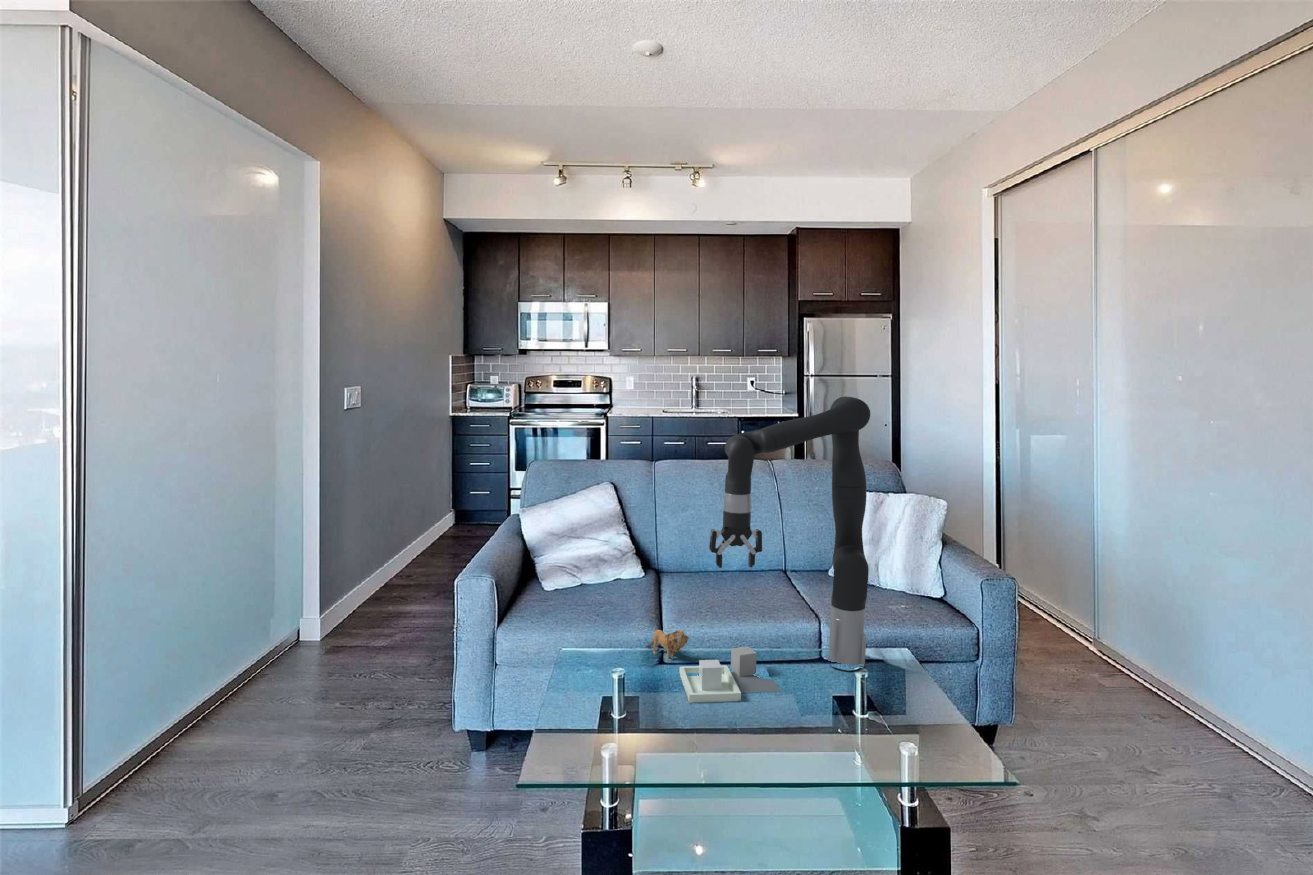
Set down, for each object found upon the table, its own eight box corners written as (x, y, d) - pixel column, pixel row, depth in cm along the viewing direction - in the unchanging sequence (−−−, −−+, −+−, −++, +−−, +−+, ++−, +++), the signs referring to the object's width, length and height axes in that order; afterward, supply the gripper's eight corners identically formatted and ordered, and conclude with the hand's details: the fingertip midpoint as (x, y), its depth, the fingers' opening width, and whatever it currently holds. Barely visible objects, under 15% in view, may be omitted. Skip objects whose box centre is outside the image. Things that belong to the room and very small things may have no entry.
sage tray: (726, 673, 209) (727, 665, 209) (740, 702, 192) (741, 693, 192) (679, 675, 208) (679, 666, 207) (689, 704, 191) (689, 694, 191)
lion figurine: (690, 660, 218) (691, 629, 217) (678, 666, 214) (679, 634, 213) (652, 646, 227) (652, 617, 226) (639, 651, 223) (640, 621, 222)
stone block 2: (746, 667, 213) (747, 646, 212) (755, 674, 208) (756, 653, 208) (730, 669, 211) (731, 648, 210) (739, 676, 207) (740, 655, 206)
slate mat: (764, 667, 214) (765, 666, 214) (780, 693, 198) (780, 691, 198) (725, 668, 213) (726, 667, 213) (738, 694, 197) (738, 692, 197)
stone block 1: (717, 681, 203) (718, 659, 202) (721, 690, 198) (721, 667, 197) (698, 682, 202) (699, 660, 202) (701, 690, 197) (702, 668, 197)
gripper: (759, 506, 214) (757, 563, 216) (708, 506, 213) (707, 563, 215) (766, 511, 207) (763, 570, 209) (713, 512, 205) (712, 571, 207)
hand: (735, 567), depth 212 cm, fingers open, 8 cm apart
